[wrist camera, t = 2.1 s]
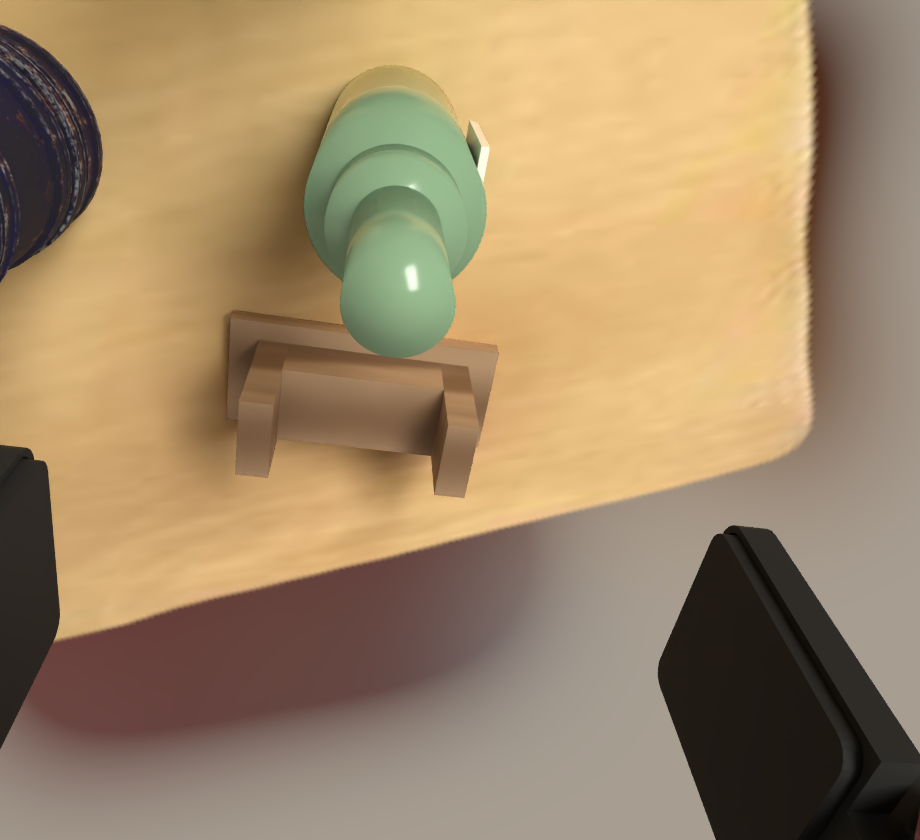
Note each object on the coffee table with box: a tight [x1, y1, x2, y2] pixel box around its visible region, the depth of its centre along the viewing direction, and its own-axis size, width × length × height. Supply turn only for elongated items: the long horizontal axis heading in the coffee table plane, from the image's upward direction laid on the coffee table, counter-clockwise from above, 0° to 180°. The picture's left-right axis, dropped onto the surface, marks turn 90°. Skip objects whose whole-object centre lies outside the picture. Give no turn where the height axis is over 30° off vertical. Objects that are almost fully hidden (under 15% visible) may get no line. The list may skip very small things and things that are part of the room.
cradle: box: [227, 311, 499, 498], centre depth 40 cm, size 6×14×8 cm, turn 80°
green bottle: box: [304, 66, 490, 358], centre depth 28 cm, size 6×6×21 cm
